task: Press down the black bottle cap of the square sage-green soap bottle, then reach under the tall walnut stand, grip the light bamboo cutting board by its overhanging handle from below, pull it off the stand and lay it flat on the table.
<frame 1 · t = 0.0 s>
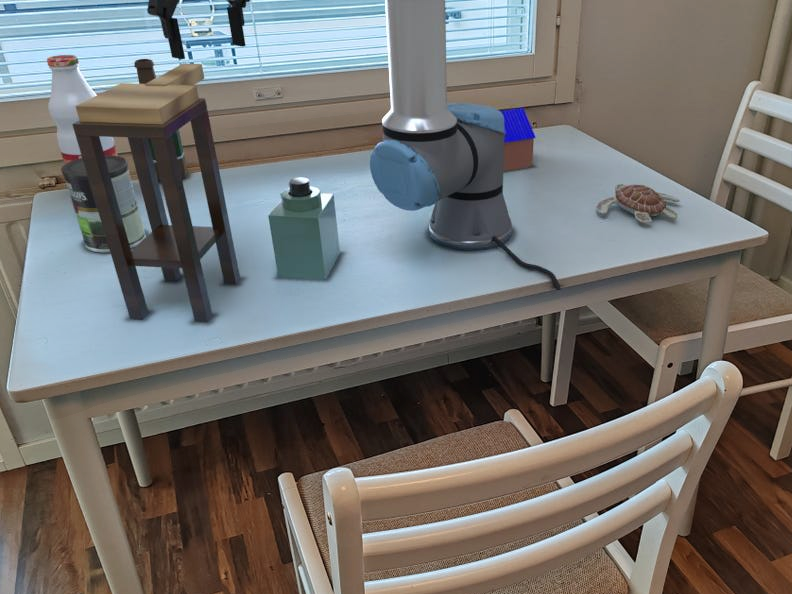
hand: (210, 51, 136), 28 cm above the table, tool pointing down, fingers open, 13 cm apart
black bottle cap: (299, 187, 118), point 14 cm above the table, slide at 0.1 cm
cutting board: (142, 110, 100), point 29 cm above the table, touching plant stand
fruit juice: (105, 207, 146), on the table
soap bottle: (310, 265, 126), on the table
decorative turtle: (637, 212, 147), on the table
plant stand: (187, 298, 116), on the table
coffee can: (116, 241, 133), on the table
house: (483, 166, 168), on the table
beer bottle: (170, 177, 160), on the table
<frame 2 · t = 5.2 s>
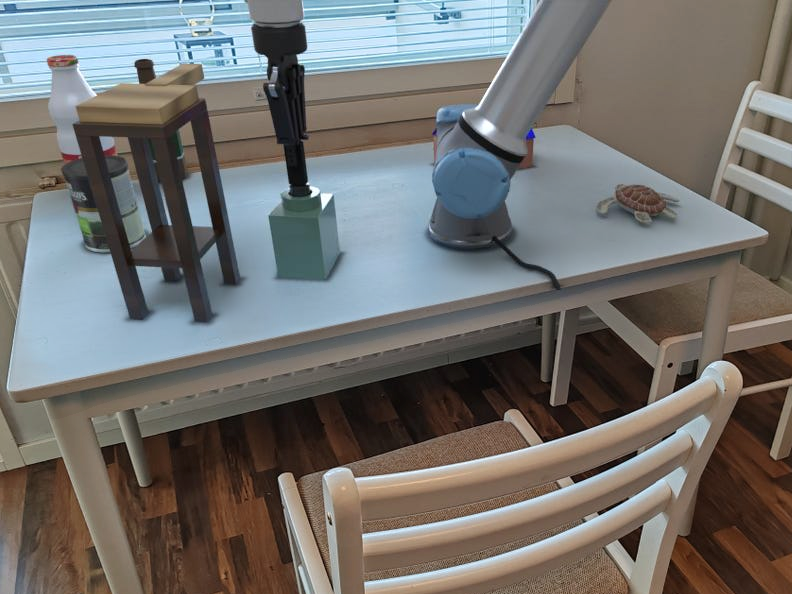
hand: (298, 182, 118), 15 cm above the table, tool pointing down, fingers closed
black bottle cap: (300, 191, 118), point 13 cm above the table, slide at -0.5 cm, touching gripper
everything else where it was.
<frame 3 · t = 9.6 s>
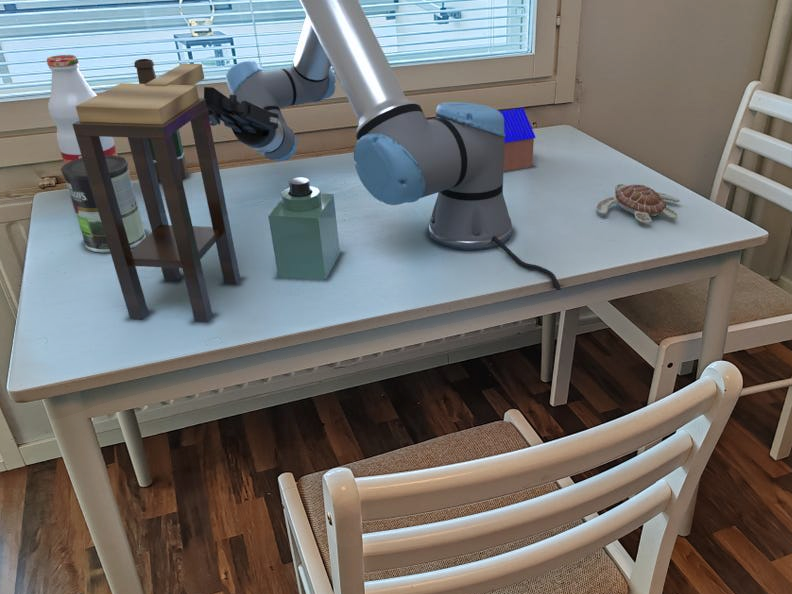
hand: (208, 95, 118), 26 cm above the table, tool pointing upward, fingers closed
black bottle cap: (299, 187, 118), point 14 cm above the table, slide at 0.1 cm
everything else where it was.
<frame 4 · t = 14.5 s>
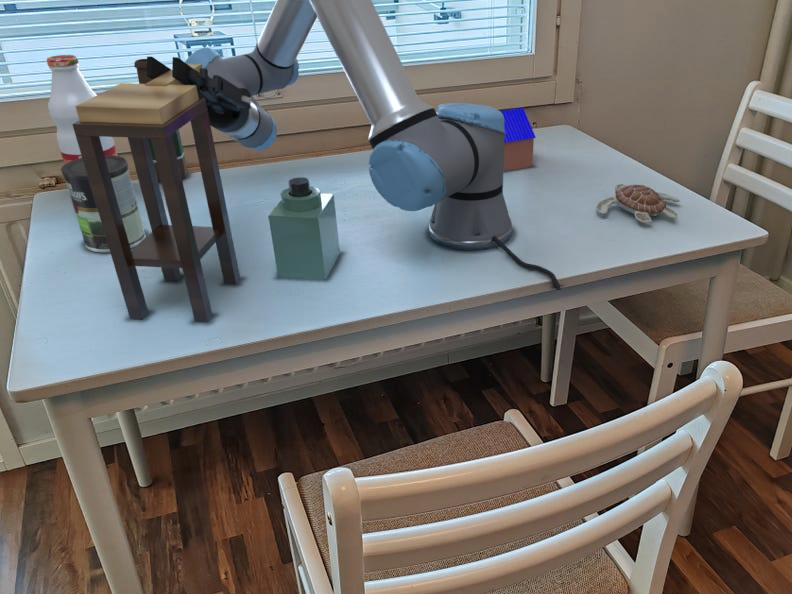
hand: (162, 66, 105), 33 cm above the table, tool pointing upward, fingers closed on cutting board, 3 cm apart
cutting board: (142, 110, 100), point 29 cm above the table, touching gripper, plant stand
everything else where it was.
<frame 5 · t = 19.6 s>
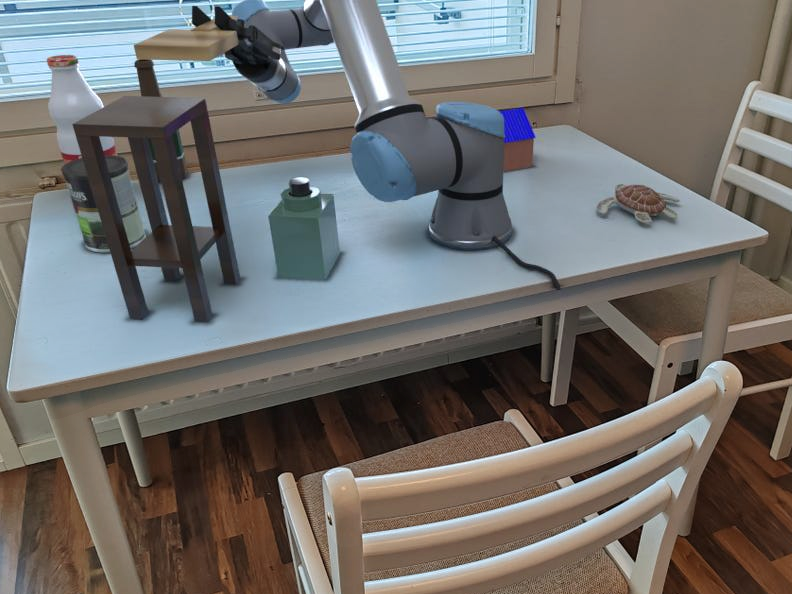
hand: (205, 15, 117), 37 cm above the table, tool pointing upward, fingers closed on cutting board, 3 cm apart
cutting board: (189, 51, 113), point 33 cm above the table, touching gripper
everything else where it was.
when the fingers open (10 cm above the table, at t = 24.5 s): cutting board drops 3 cm, on the table.
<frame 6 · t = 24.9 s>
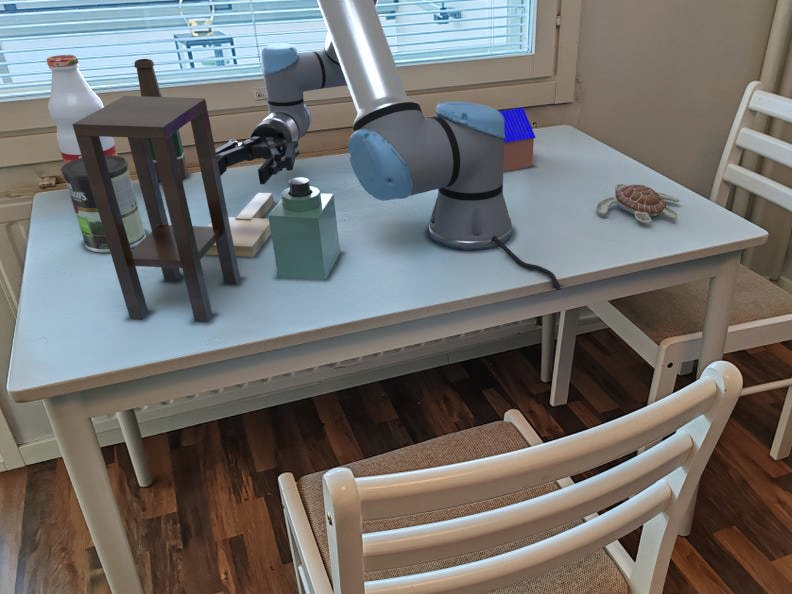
hand: (235, 176, 132), 10 cm above the table, tool horizontal, fingers open, 9 cm apart
cutting board: (235, 241, 134), on the table
everything else where it was.
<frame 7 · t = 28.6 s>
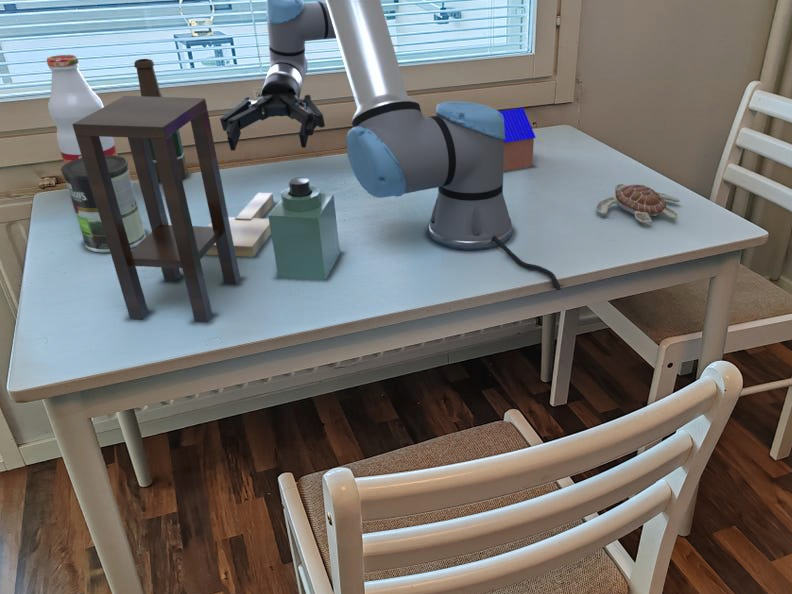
hand: (266, 142, 141), 12 cm above the table, tool horizontal, fingers open, 13 cm apart
nothing on the table moved.
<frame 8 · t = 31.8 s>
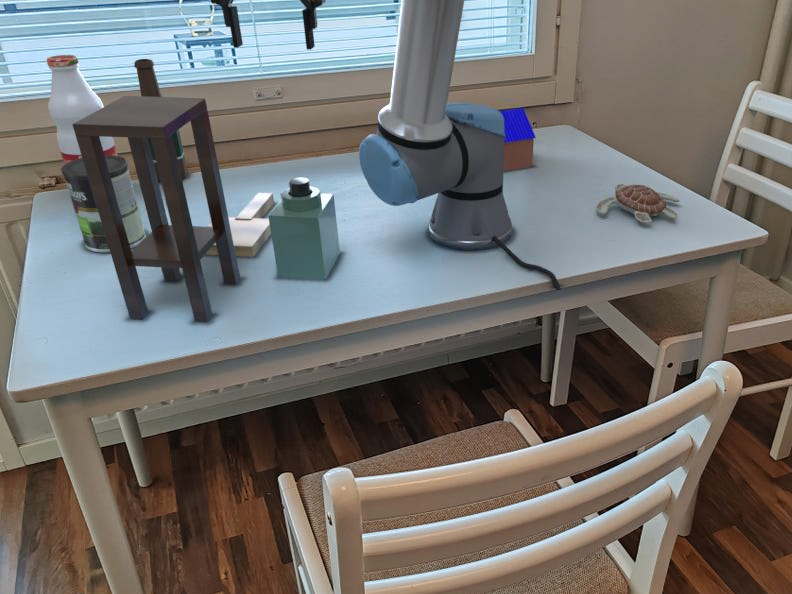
hand: (274, 47, 136), 29 cm above the table, tool pointing down, fingers open, 13 cm apart
nothing on the table moved.
at the end: black bottle cap pushed in 1.1 cm at the most during the clip, back to where it started at the end; cutting board on the table; cutting board tilted 0° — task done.
